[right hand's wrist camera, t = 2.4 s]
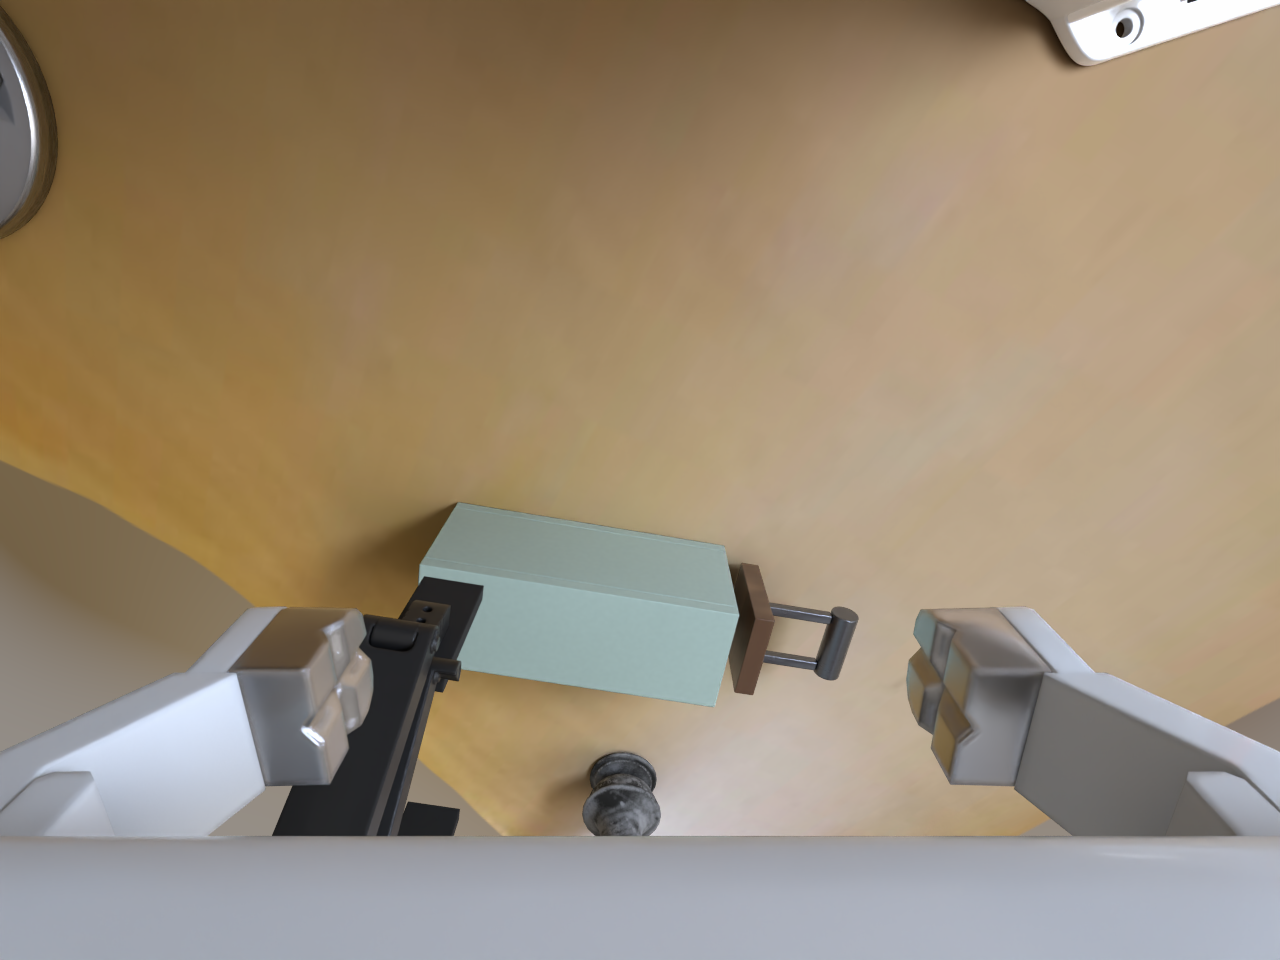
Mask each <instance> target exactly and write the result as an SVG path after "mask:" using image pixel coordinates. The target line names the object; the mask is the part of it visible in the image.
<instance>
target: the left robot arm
mask: <svg viewBox="0 0 1280 960" xmlns="http://www.w3.org/2000/svg"><path fill="white" fill-rule="evenodd" d="M57 151H58V138H57V126H56V119H55V113H54V109H53V104H52V100H51V96H50V93H49V90H48V87H47V84H46V81H45V79H44V77H43V74H42V72H41V69H40V67H39V65H38V63H37V61H36V59H35V57H34V55H33V53H32V51H31V49H30V47H29V46H28V44H27V42H26V41H25V39H24V37H23V36H22V34H21V33H20V31H19V30H18V28H17V27H16V25H15V24H14V23H13V21H12V20H11V18H10V17H9V16H8V15H7V13H6V12H5V11H4V10H3V9H2V7H1V6H0V239H2V238H4V237H6V236H9V235H11V234H12V233H14V232H15V231H17V230H19V229H20V228H21V227H23V226H24V225H25V224H26V223H27V222H29V220H30V219H31V218H32V217H33V216H34V215H35V214H36V213H37V211H38V210H39V208H40V207H41V206H42V204H43V202H44V200H45V199H46V197H47V195H48V193H49V190H50V187H51V185H52V182H53V178H54V174H55V170H56V163H57ZM483 589H484V586H483V585H477V584H470V583H464V582H458V581H452V580H446V579H439V578H433V577H427V576H424V577H423V579H422V580H421V582H420V584H419V585H418V587H417V589H416V590H415V592H414V594H413V595H412V597H411V599H410V600H409V602H408V603H407V605H406V607H405V608H404V610H403V612H402V613H401V615H400V617H399V618H398V619H393V618H387V617H380V616H374V615H368V614H366V615H364V616H363V619H364V624H365V629H366V633H367V635H366V636H365V638H364V639H363V641H362V643H361V644H360V646H359V648H360V649H361V650H362V651H363V652H364V653H365V654H366V655H367V656H368V657H369V658H370V660H371V663H372V669H373V694H372V698H371V703H370V707H369V711H368V713H367V715H366V717H365V719H364V721H363V723H362V725H361V726H359V727H358V728H356V729H355V730H354V731H352V732H351V733H349V734H348V735H347V738H348V744H349V750H348V751H347V753H346V755H345V757H344V759H343V761H342V763H341V764H340V766H339V768H338V770H337V772H336V774H335V776H334V778H333V779H332V781H331V783H330V784H327V785H293V786H292V788H291V791H290V793H289V796H288V798H287V800H286V803H285V805H284V808H283V810H282V813H281V815H280V818H279V820H278V823H277V825H276V827H275V830H274V832H273V835H272V836H454V833H455V829H456V826H457V823H458V820H459V812H460V809H455V808H448V807H442V806H435V805H428V804H421V803H414V802H408V803H407V806H406V808H405V804H406V800H407V796H408V792H409V788H410V784H411V781H412V777H413V773H414V769H415V765H416V761H417V758H418V754H419V750H420V746H421V742H422V738H423V734H424V731H425V727H426V723H427V719H428V715H429V711H430V707H431V704H432V700H433V696H434V692H435V691H436V692H443V691H444V689H445V686H446V684H447V682H448V680H453V681H459V678H460V673H461V661H458V660H457V658H458V656H459V653H460V651H461V649H462V646H463V644H464V642H465V639H466V637H467V635H468V632H469V630H470V628H471V625H472V623H473V621H474V618H475V616H476V613H477V611H478V609H479V606H480V604H481V602H482V598H483ZM404 808H405V810H404ZM403 812H404V813H403Z"/></svg>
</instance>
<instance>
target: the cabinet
mask: <svg viewBox="0 0 1280 960" xmlns="http://www.w3.org/2000/svg"><path fill="white" fill-rule="evenodd" d="M424 576H427V577H433V578H439V579H446V580H452V581H458V582H464V583H470V584H477V585H483V586H484V589H483V598H482V602H481V604H480V606H479V609H478V611H477V613H476V616H475V618H474V621H473V623H472V625H471V628H470V630H469V632H468V635H467V637H466V639H465V642H464V644H463V646H462V649H461V651H460V653H459V656H458V658H457V660H458V661H461V669H463V670H470V671H477V672H483V673H490V674H496V675H503V676H510V677H516V678H523V679H530V680H536V681H543V682H550V683H556V684H563V685H569V686H576V687H583V688H589V689H596V690H603V691H609V692H616V693H623V694H629V695H636V696H642V697H649V698H656V699H662V700H669V701H676V702H682V703H689V704H696V705H702V706H709V707H715V703H716V700H717V696H718V692H719V688H720V685H721V681H722V677H723V674H724V670H725V666H726V662H727V659H728V655H729V651H730V648H731V644H732V640H733V636H734V633H735V629H736V625H737V622H738V618H739V612H738V608H737V603H736V598H735V593H734V589H733V584H732V580H731V575H730V570H729V566H728V561H727V556H726V552H725V547H724V546H722V545H716V544H710V543H704V542H698V541H692V540H686V539H680V538H673V537H667V536H661V535H655V534H649V533H643V532H637V531H631V530H625V529H619V528H612V527H606V526H600V525H594V524H588V523H582V522H576V521H570V520H564V519H557V518H551V517H545V516H539V515H533V514H527V513H521V512H515V511H509V510H502V509H496V508H490V507H484V506H478V505H472V504H466V503H460V502H458V503H457V505H456V506H455V508H454V510H453V511H452V513H451V514H450V516H449V518H448V519H447V521H446V523H445V524H444V526H443V527H442V529H441V531H440V532H439V534H438V536H437V537H436V539H435V540H434V542H433V544H432V545H431V547H430V548H429V550H428V552H427V553H426V555H425V557H424V558H423V560H422V562H421V563H420V565H419V580H418V585H419V584H420V582H421V580H422V579H423V577H424Z"/></svg>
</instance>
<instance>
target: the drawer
mask: <svg viewBox="0 0 1280 960" xmlns="http://www.w3.org/2000/svg"><path fill="white" fill-rule="evenodd" d="M734 593H735V598H736V603H737V608H738V612H739V618H738V622H737V625H736V629H735V633H734V636H733V640H732V644H731V648H730V651H729V655H728V657H729V663H730V668H731V674H732V680H733V686H734V692H735V693H742V694H748V695H753V694H754V690H755V687H756V683H757V680H758V677H759V673H760V670H761V666H762V663H763V662H764V663H771V664H777V665H784V666H790V667H796V668H803V669H809V670H814V672H815V673H816V674H817V675H818V676H819V677H821V678H823V679H826V680H836V679H837V678H838V677H839V674H840V671H841V668H842V665H843V662H844V660H845V657H846V654H847V651H848V648H849V645H850V642H851V639H852V636H853V634H854V631H855V628H856V625H857V622H858V615H857V614H856V613H855V612H853V611H852V610H850V609H848V608H845V607H834V608H833V609H832V611H831V613H830V612H826V611H820V610H814V609H807V608H801V607H795V606H789V605H782V604H776V603H770V602H769V600H768V597H767V594H766V590H765V587H764V583H763V580H762V577H761V573H760V570H759V566H758V565H752V564H746V563H741V566H740V570H739V574H738V578H737V582H736V585H735V589H734ZM773 615H774V616H780V617H786V618H793V619H799V620H805V621H812V622H818V623H824V624H827V626H826V629H825V632H824V635H823V638H822V641H821V645H820V648H819V651H818V654H817V657H816V659H815V658H811V657H805V656H798V655H792V654H786V653H779V652H773V651H766V649H767V646H768V642H769V639H770V636H771V632H772V629H773V625H774V622H775V621H774V617H773Z"/></svg>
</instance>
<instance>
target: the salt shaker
mask: <svg viewBox="0 0 1280 960" xmlns="http://www.w3.org/2000/svg"><path fill="white" fill-rule="evenodd" d="M590 782H591V786H592V788H593V790H592V792H591V794H590V796H589V797H588V798H587V800H586V802H585V804H584V806H583V813H582V815H583V820H584V823H585V825H586V826H587V828H588V829H589V830H590V831H591V832H592V833H593V834H594V835H595V836H649V835H650V834H651V833H653V832H654V831H655V830H656V828H657V826H658V824H659V822H660V817H661V813H660V807H659V805H658V803H657V801H656V799H655V797H654V795H653V793H652V792H653V790H654V788H655V785H656V773H655V771H654V769H653V767H652V765H651V764H650V763H649V762H648V761H647V760H645V759H643V758H642V757H640V756H637V755H634V754H630V753H614V754H611V755H608V756H605V757H604V758H602V759H600V760H599V761H598V762H597V763H596V764H595V765H594V767H593V769H592V770H591V775H590Z"/></svg>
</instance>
